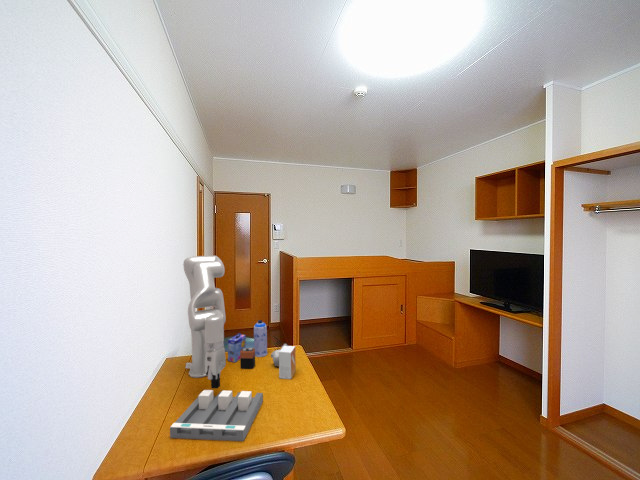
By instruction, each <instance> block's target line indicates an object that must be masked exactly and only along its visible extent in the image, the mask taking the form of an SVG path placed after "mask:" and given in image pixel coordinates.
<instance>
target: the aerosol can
mask: <svg viewBox="0 0 640 480" xmlns="http://www.w3.org/2000/svg"><path fill="white" fill-rule="evenodd" d="M267 328H268V327H267V324H266V323H265V322H264V321H263V320H261V319H259V320H258V321H257V322H256V323H255V324H254V326H253V349H255V358H262V357H266V356H267V355H268V330H267Z"/></svg>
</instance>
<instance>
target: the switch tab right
mask: <svg viewBox="0 0 640 480" xmlns="http://www.w3.org/2000/svg"><path fill="white" fill-rule="evenodd" d="M240 392H241V393H240V395H239V396H238V411H247V410H248V408H249V406H250V405H251V403H252V396H253V395H252V390H249V391H248V390H241V391H240Z"/></svg>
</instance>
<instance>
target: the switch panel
mask: <svg viewBox="0 0 640 480" xmlns="http://www.w3.org/2000/svg"><path fill="white" fill-rule="evenodd" d="M221 392H222V391H219V392H218V394H217V395H213V401H212V403H211V404H210V405H209V406H208V408H207V409H199V395H198V396H197V398H196V399H194V400H193V402H192V403H191V404H190V405H189V406H188V407H187V408H186V409H185V411H184V412H183V413H182V414H181V415H180V416H179V417H178V418H177V419H176V421H175V422H173V423H172V425H170V426H169V427H170V428H169V438H170V439H187V440H188V439H189V440H206V441H207V440H210V441H227V440H228V441H232V442H245V439H246V437H247V435H248V433H249V431H250V429H251V427H252V425H253V422H254V420H255V418H257V417H256V416H257V415H258V412H259V410H260V408H261V407H262V404H263V402H264V393H263V392H256V394H255V395H254V396H253V397H252V403H251V405H250V406H249V408H248V410H247V411H238V396H239V395H240V393H241V392H242V391H240V392H239V391H238V392H237V394H236V395H235V396H232V403H231V404H230V406H229V407H228V409H227V410H218V396H219V395H220V393H221Z"/></svg>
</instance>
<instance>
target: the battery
mask: <svg viewBox="0 0 640 480" xmlns="http://www.w3.org/2000/svg"><path fill="white" fill-rule="evenodd" d="M239 363H240V369H241V370H242V369H243V370H246V369H247V370H253V369H254V368H255V366H256V357H255V349H254V347H248V348H246V347H245V348H243V349H242V351H241V352H240V362H239Z"/></svg>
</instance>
